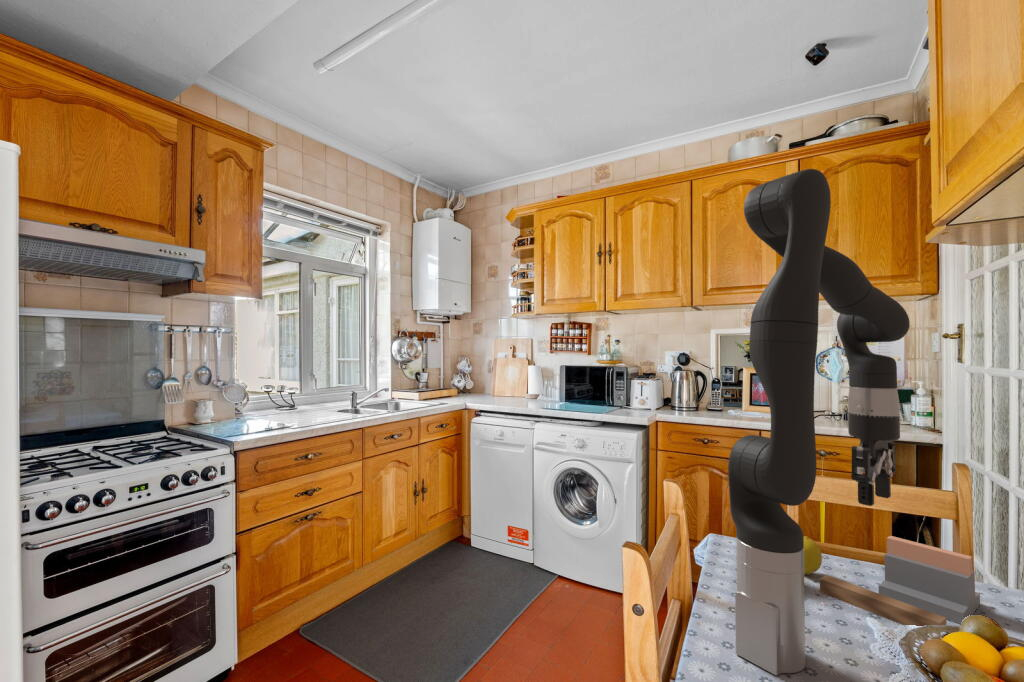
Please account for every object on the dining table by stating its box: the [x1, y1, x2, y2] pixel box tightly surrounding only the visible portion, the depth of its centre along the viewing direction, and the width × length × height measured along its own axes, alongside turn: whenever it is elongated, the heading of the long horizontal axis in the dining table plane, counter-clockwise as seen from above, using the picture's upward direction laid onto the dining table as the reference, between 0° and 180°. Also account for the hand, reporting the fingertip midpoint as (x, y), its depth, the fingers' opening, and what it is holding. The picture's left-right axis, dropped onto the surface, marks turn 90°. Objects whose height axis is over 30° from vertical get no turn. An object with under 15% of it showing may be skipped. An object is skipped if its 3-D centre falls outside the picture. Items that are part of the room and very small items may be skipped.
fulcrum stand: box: [878, 535, 981, 625], centre depth 89 cm, size 12×12×10 cm
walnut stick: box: [819, 574, 947, 626], centre depth 84 cm, size 18×3×3 cm, turn 33°
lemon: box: [803, 535, 823, 576], centre depth 99 cm, size 6×6×8 cm
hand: (874, 500), depth 85 cm, fingers open, 8 cm apart
